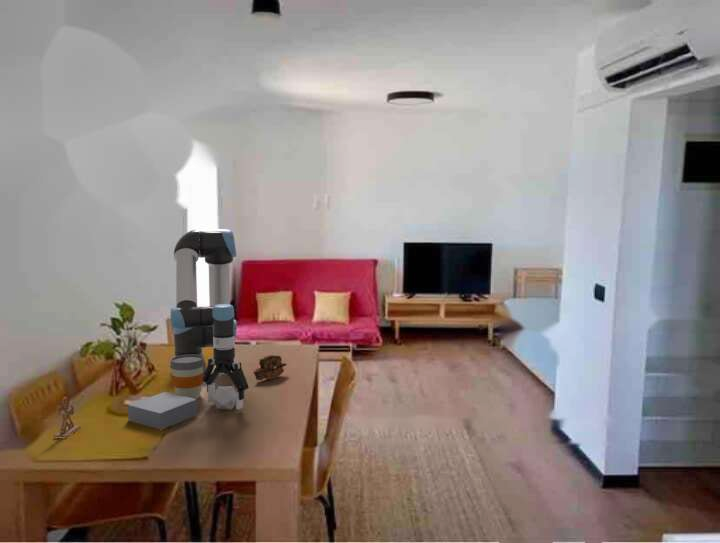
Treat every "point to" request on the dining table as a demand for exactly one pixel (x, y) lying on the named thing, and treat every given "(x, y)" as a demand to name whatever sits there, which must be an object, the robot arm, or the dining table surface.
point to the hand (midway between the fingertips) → (225, 404)
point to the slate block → (162, 410)
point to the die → (225, 397)
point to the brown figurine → (71, 426)
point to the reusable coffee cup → (187, 375)
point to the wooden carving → (269, 368)
